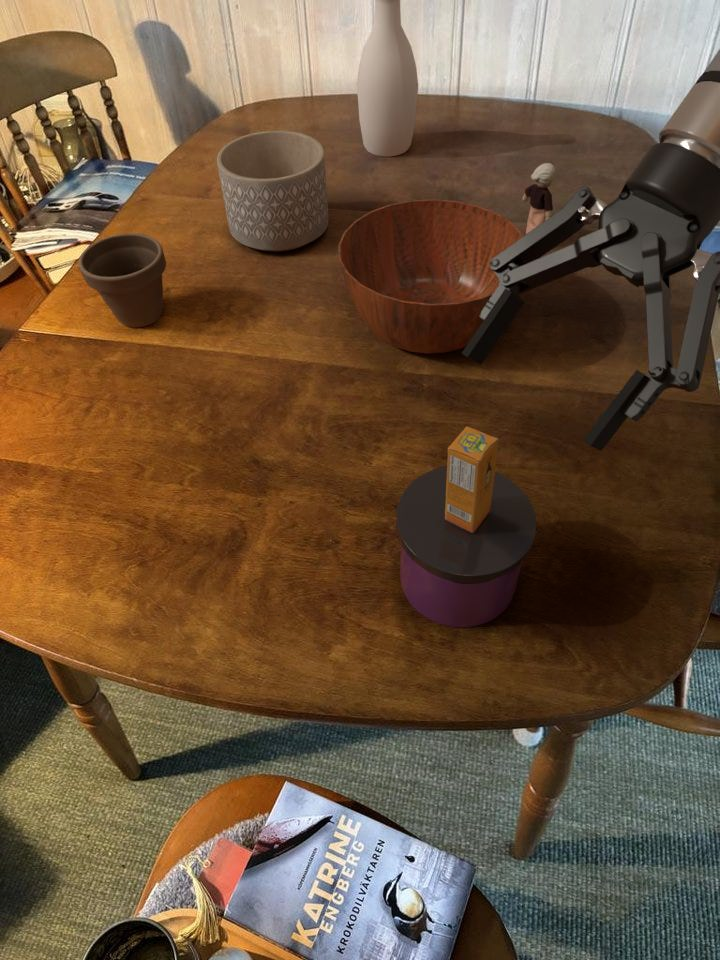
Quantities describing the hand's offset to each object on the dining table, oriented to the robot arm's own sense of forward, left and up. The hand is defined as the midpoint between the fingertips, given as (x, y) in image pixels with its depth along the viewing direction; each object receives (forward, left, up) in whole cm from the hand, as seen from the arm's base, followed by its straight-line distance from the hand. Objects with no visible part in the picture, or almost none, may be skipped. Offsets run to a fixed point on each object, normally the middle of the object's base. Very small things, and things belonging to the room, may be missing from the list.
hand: (527, 400), depth 60 cm
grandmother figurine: (+11, -60, -22) cm, 65 cm away
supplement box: (+3, +4, -12) cm, 13 cm away
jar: (+3, +4, -22) cm, 23 cm away
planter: (+51, -50, -22) cm, 74 cm away
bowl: (+20, -36, -22) cm, 46 cm away
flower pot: (+60, -22, -22) cm, 67 cm away
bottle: (+45, -84, -22) cm, 97 cm away
